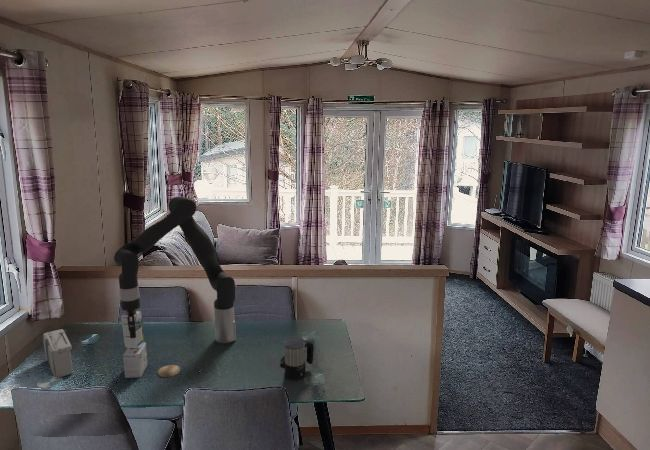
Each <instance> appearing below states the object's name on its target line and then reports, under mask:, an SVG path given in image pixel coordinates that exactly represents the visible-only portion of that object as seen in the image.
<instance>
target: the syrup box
mask: <svg viewBox="0 0 650 450" xmlns="http://www.w3.org/2000/svg"><path fill="white" fill-rule="evenodd" d="M136 310H137V309H136ZM126 314H127V313H126V312H125V313H123V314H122V315H120V316H121V317H120V319H121V325H122V334H123V342H124V347H125V348H138V347H139V346H140V345H141V344H142V343H144V342H145V336H144V335H145V334H144V325H143V318H142V316H143V315H142V311H141V310H137V311H136V314H137V316H136V314H134V317H136V324H135V327H136V329H135V330H136V338H130V331H129V330H128V329H129V327H128V324H127V318H128V315H126ZM134 320H135V318H134ZM130 327H134V325H130Z"/></svg>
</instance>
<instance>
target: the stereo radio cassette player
mask: <svg viewBox="0 0 650 450" xmlns="http://www.w3.org/2000/svg"><path fill="white" fill-rule="evenodd" d="M66 332H67V330H66V329H65V330H64V329H63V328H61V329H56V330H52V331H48V332H44V333H43V334H42V340H43V348H44V353H45V358H46V361H47V363H48V365H49V368H50V371H51V374H52V376H53V377H54V378H55V379H59V378H62V377H65V376H69V375H72V374H73V372H74V371H73V370H74V369H73V362H72V356H71V350H73V346H72V344H71V342H70V339H68V336H67V334H66Z"/></svg>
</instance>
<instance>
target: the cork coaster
mask: <svg viewBox="0 0 650 450" xmlns="http://www.w3.org/2000/svg"><path fill="white" fill-rule="evenodd" d="M180 372H181V367H180V366H179V365H176V364H169V365H164V366H162V367H160V368H159V369H158V370H157V374H158V376H159V377H162V378H172V377H174V376H177V375H179V373H180Z"/></svg>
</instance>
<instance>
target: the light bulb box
mask: <svg viewBox="0 0 650 450" xmlns="http://www.w3.org/2000/svg"><path fill="white" fill-rule="evenodd" d="M126 348H127V349H125V351H124V353H123V354H122V357H123V359H122V360H123V368H124V370H123V371H124V378H125V379H126V378H127V379H128V378H129V379H130V378H141V377H142V375H143V373H144V371H145V370H146V369H147V366H148V355H147V354H148V353H147V343H146V342H145V341H144V343H142V344H141V345H140V346H139V347H138V348H128V347H126Z"/></svg>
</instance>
